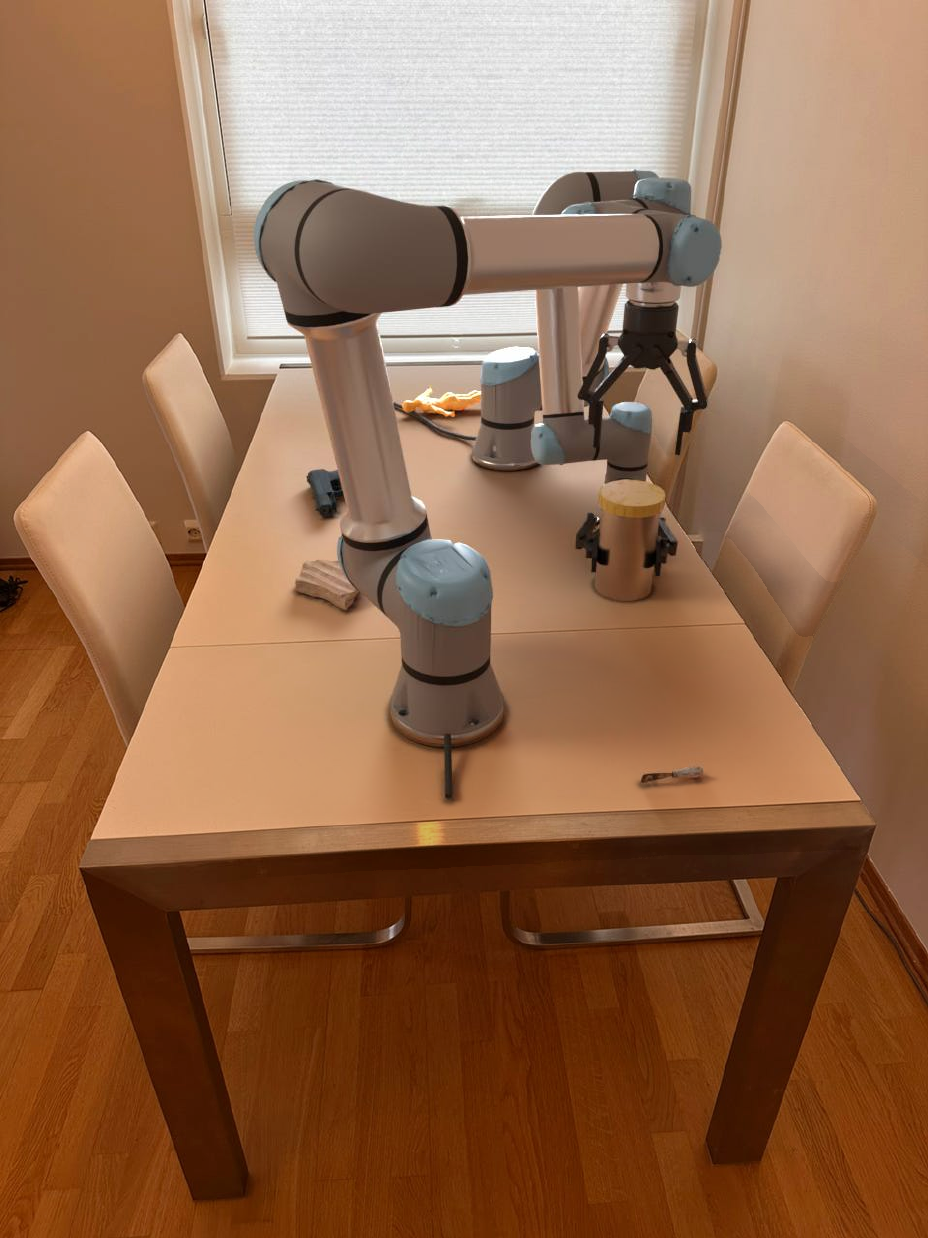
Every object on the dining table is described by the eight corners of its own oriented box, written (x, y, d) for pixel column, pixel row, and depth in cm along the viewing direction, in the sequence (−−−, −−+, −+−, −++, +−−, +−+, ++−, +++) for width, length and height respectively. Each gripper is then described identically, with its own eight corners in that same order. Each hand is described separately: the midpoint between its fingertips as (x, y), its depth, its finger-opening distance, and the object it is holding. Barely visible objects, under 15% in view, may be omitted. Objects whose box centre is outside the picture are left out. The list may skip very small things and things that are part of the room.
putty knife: (703, 777, 109) (705, 767, 109) (642, 788, 108) (644, 777, 107) (700, 772, 110) (702, 762, 109) (639, 782, 109) (640, 771, 108)
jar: (589, 596, 147) (596, 503, 138) (600, 569, 155) (607, 480, 146) (646, 605, 145) (657, 511, 136) (654, 577, 152) (666, 487, 143)
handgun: (377, 512, 175) (316, 519, 172) (362, 476, 189) (305, 483, 186) (376, 497, 173) (315, 504, 171) (361, 462, 187) (303, 469, 185)
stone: (382, 577, 152) (381, 564, 151) (347, 611, 143) (346, 598, 142) (316, 564, 157) (314, 551, 155) (279, 596, 147) (277, 583, 146)
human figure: (395, 413, 223) (394, 398, 221) (438, 390, 237) (438, 375, 235) (462, 429, 215) (462, 413, 213) (502, 404, 229) (503, 388, 227)
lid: (592, 513, 139) (593, 501, 138) (604, 487, 147) (605, 476, 146) (659, 521, 136) (660, 510, 135) (668, 495, 144) (669, 483, 143)
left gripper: (563, 302, 125) (555, 449, 136) (740, 311, 119) (716, 464, 131) (571, 290, 131) (563, 432, 142) (740, 299, 126) (717, 446, 137)
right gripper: (685, 530, 162) (693, 592, 143) (563, 523, 165) (555, 582, 146) (690, 492, 158) (699, 550, 139) (565, 485, 161) (558, 541, 142)
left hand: (636, 448), depth 137 cm, fingers open, 12 cm apart
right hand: (626, 566), depth 143 cm, fingers closed on jar, 9 cm apart
